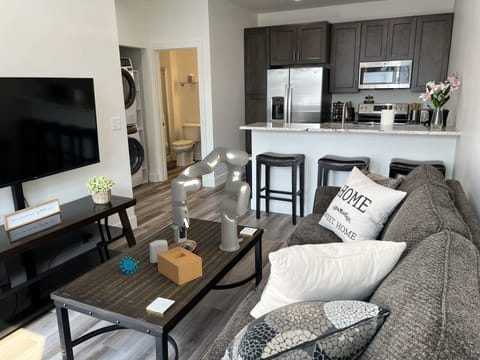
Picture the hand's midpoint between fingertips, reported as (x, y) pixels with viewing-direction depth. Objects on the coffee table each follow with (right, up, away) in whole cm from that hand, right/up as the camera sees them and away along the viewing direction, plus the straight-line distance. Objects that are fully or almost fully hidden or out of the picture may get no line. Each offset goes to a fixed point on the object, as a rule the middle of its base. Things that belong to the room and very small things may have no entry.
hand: (180, 236), depth 185 cm
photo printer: (-15, -17, +17) cm, 28 cm away
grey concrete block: (0, -2, 0) cm, 2 cm away
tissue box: (-1, -20, +3) cm, 20 cm away
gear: (-28, -20, +6) cm, 35 cm away
